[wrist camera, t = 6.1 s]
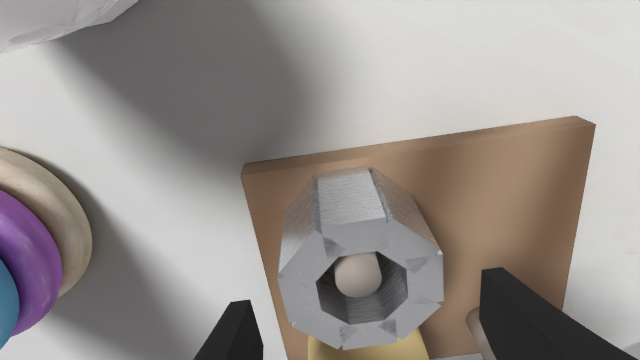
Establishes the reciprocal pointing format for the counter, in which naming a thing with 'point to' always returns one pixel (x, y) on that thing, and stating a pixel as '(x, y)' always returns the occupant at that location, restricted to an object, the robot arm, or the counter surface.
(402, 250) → the gear ring
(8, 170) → the stacking toy
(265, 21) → the counter surface
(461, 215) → the board
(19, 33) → the white cup
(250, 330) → the robot arm
